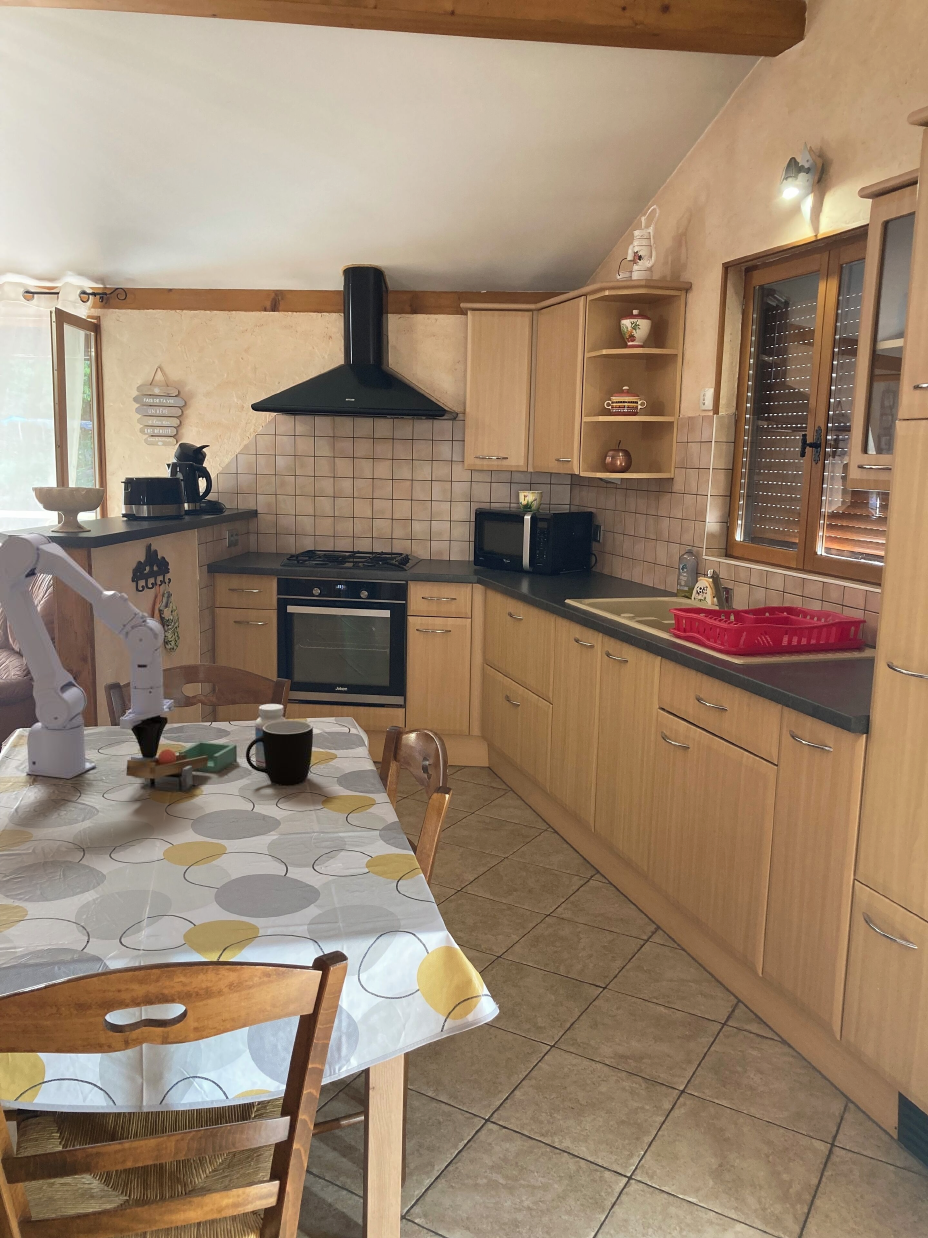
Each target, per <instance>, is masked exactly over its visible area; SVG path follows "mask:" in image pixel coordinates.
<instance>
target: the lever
mask: <svg viewBox="0 0 928 1238" xmlns="http://www.w3.org/2000/svg"><path fill="white" fill-rule="evenodd" d="M175 755H176V761H175V762H174V763H169V764H164V765H161V764H160V763H159V760H158V756H159V755H156V757H154V758H147V757H142V754H141V755H134V756H133V755H132V756H131V757H130V759H127V760H126V763H127V764H126V777H135V778H145V779H146V778H152V779H153V778H157V777H162V776H166V775H170V774H174V775H182V769H183V768H185V767H187V766H192V769H196V768H200V767H205V766H207V765H208V756H202V757H197V758H193V759H187V754H180V755H179V754H175Z"/></svg>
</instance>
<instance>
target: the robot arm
mask: <svg viewBox="0 0 928 1238" xmlns="http://www.w3.org/2000/svg"><path fill="white" fill-rule="evenodd" d="M38 574H40V575H47V576H55V577H56V578H58V579H60V580H61V581H62V582H63V583H65V584H66V585H67V586H68V587H70V588H71V589H72V590H73V591H75V592H76V593H77V594H78V595H80V596H82V597H83V599H85V600H86V601H88V602H89V603H90V604H91V605H92V610H93V611H92V613H93V615H94V616H95V617H97V618H98V620H100V621H101V622H102V623H103V624H104V625H105V626H107V627H108V628H109V629H111V631H113V632H114V633H115V634H116V635H118V636H119V638H121V639H123V643H124V645H125V646H124V647H125V648H126V649H127V650H128V652H129V681H130V682H129V683H130V685H129V686H130V687H129V688H130V706H131V707H130V710H128V711H127V712H126V714H125V715H124V716H121V717H120V718H119V729H120V730H130V731H132V733H133V735H134V737H135V739H136V742H137V744H138V747H139V749H140V753H141V755H142V757H147V758H154V757H156V756H158V751H159V747H160V746H159V745H160V741H161V737H162V735H163V731H164V729H165V728H166V726H167V724H168V723H169V722H168V720H169V719H168V717H166V716H165V715H168V714H169V713H170V712H172V711H174V710H175V701H174V699H165V698H164V673H163V672H164V669H163V657H162V654H163V653H162V647H161V645H162V644H163V642H164V639H165V630H164V627H163V626H162V625H161V623H160V622H159V620H158V619H156V618H152V617H149V614H147V613H146V612H143V613H142V611H140V610H139V609H138V608H137V607H135V606H134V604H132V603H131V602H130V601H129V600H128V599H129V595H127V594H126V593H125V592H123V593H120V592H118V591H116V590H110V591H109V590H105V588H103V587H102V586H101V584H99V583H98V582H97V581H96V580H95V579H94V578H93V577H91V575H90V574H88V572H87V571H85V570H84V569H83V568H82V566H80V564H78V563H77V562H76V561H75V560H74V559H73V558H72V557H71V556H70V555H69V554H68V553H67V552H66V551H65V550H64V549H63V548H62V547H61V546H60V545H59V544H57V543H56V542H52V540H51V539H50V538H49V537H48V536H47V535H45V534H43V533H40V532H28V533H27V534H22V535H13V536H10V537H7V538H6V539H4V540H3V542H2V543H1V545H0V606H1V609H2V611H3V613H4V616H5V617H6V620H7V622H8V624H9V626H10V629H11V632H12V633H13V637H14V639H15V640H16V642H17V643H16V644H17V645H18V647H19V650H20V651H21V654H22V655H23V658H24V661H25V663H26V665H27V668H28V669H29V672H30V675H31V676H32V679H33V681H34V682H33V687H32V688H33V689H32V695H33V698H34V702H35V715H36V716H35V717H36V718H37V720H38V722H36V723H35V724H33V725H32V726H31V727H30V729H29V731H28V733H27V738H26V743H27V744H26V747H27V764H28V769H27V770H25V774H26V775H27V774H28V775H33V776H34V775H35V776H44V777H51V778H62V779H72V778H74V777H76V776H79V775H80V774H83V773H84V772H87V771H88V770H91V769H93V768H95V767H96V766H97V764H96V762H95V763H93V762H88V761H87V762H86V742H85V723H84V722H85V720H84V718H83V716H82V712H83V711H85V708H86V706H87V703H88V698H87V694H86V692H85V691H84V689H83V688H82V687H81V686H79V685H78V684H77V683H76V680H75V679H74V677H73V675H72V674H70V673H69V672H68V671H67V670H66V669H65V668H64V667H63V665H62V664H63V663H61V660H60V658H59V656H58V653H57V650H56V649H55V646H54V644H53V642H52V639H51V637H50V635H49V632H48V630H47V628H46V625H45V623H44V620H43V619H42V617H41V614H40V612H39V609H38V607H37V604H36V602H35V599H34V598H33V596H32V593H31V592H30V588H31V586H32V584H33V582H34V581H35V578H36V577H37V575H38Z"/></svg>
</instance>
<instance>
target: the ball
mask: <svg viewBox="0 0 928 1238" xmlns="http://www.w3.org/2000/svg"><path fill="white" fill-rule="evenodd" d="M176 755H177V754H176V753H175V751H174V750H172V749H168V748H167V749H163V750H162V751H161V752H160V753H159V754H158V755H157V756H158V760H159V763H160V764H161V765H164V764H169V763H174V762H175V761H176Z"/></svg>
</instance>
